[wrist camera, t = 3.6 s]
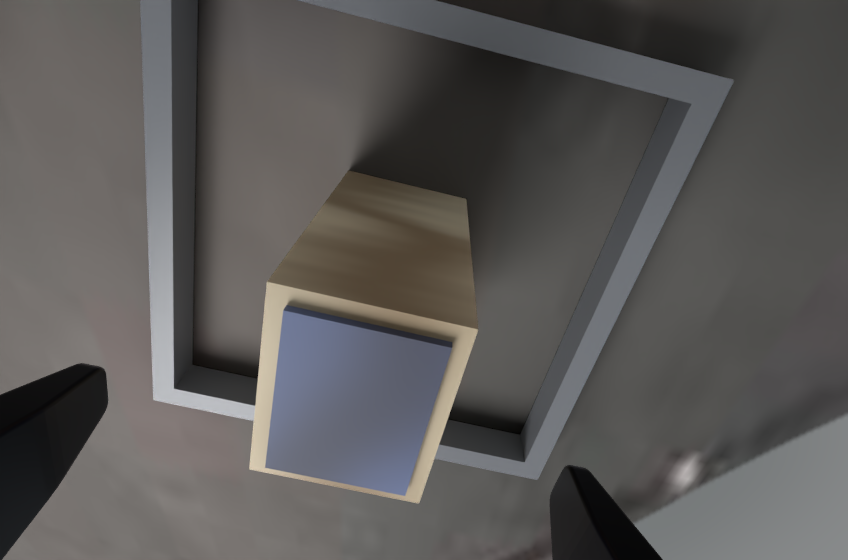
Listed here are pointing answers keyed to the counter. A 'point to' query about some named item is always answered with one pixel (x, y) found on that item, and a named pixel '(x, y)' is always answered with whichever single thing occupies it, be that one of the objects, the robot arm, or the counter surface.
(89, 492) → the counter surface
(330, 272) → the birch label block
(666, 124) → the grey picture frame
